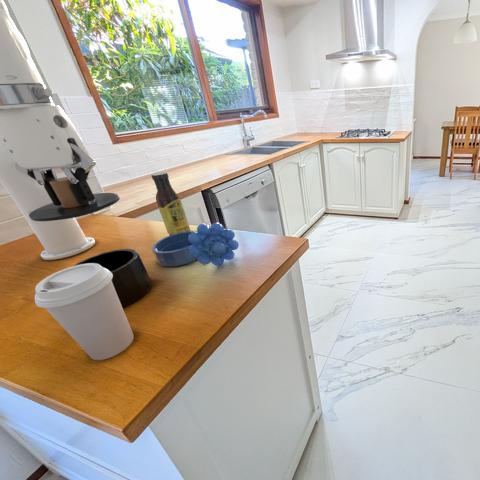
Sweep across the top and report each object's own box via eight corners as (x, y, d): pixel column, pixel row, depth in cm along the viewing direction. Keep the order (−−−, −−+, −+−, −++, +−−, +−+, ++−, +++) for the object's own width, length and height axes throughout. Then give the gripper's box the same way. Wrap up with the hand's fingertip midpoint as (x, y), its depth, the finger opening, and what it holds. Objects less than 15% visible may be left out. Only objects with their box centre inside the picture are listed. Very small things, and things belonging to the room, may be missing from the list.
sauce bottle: (182, 240, 89) (158, 177, 80) (165, 239, 90) (139, 177, 81) (196, 231, 95) (175, 170, 86) (180, 230, 96) (157, 171, 87)
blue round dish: (147, 264, 77) (140, 249, 75) (185, 242, 88) (180, 229, 86) (182, 270, 73) (176, 255, 71) (218, 247, 84) (213, 233, 81)
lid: (15, 220, 54) (-6, 188, 51) (94, 196, 65) (80, 168, 62) (60, 227, 49) (40, 193, 46) (136, 200, 60) (123, 170, 57)
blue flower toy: (204, 281, 68) (187, 236, 63) (193, 271, 72) (177, 228, 67) (249, 261, 75) (237, 218, 70) (237, 252, 80) (225, 212, 74)
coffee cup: (70, 353, 51) (19, 284, 44) (130, 319, 58) (94, 255, 51) (90, 377, 46) (36, 304, 39) (153, 337, 53) (117, 269, 46)
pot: (71, 308, 62) (50, 275, 58) (128, 275, 73) (112, 246, 69) (110, 319, 58) (90, 285, 54) (164, 283, 69) (150, 252, 65)
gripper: (87, 94, 51) (130, 193, 59) (-5, 100, 51) (51, 198, 60) (48, 95, 44) (103, 207, 53) (-57, 102, 45) (14, 212, 53)
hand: (75, 201), depth 56 cm, fingers closed on lid, 4 cm apart
